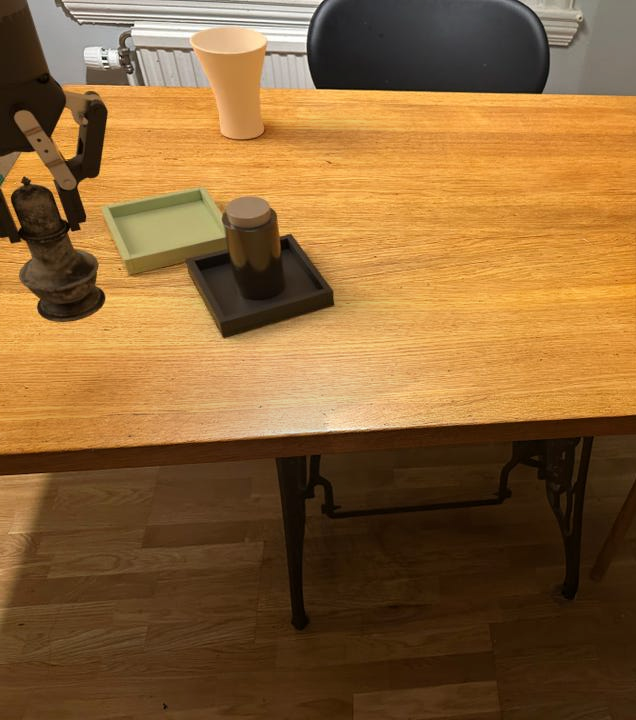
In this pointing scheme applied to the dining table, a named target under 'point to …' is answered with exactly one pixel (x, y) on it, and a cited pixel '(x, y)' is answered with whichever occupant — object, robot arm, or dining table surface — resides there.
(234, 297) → the dark tray
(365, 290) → the dining table surface
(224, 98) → the cup
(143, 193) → the dining table surface
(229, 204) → the brown jar with lid
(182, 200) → the light tray
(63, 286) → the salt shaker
